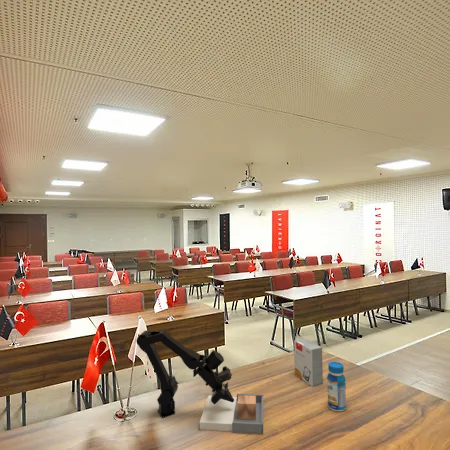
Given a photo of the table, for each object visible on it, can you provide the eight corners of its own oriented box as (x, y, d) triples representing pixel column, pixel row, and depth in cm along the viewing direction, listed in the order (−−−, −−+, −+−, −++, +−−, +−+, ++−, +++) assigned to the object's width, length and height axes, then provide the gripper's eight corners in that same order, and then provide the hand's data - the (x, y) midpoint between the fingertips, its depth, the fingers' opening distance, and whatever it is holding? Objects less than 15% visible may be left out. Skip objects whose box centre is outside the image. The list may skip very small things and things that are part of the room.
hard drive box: (294, 375, 185) (293, 340, 185) (304, 372, 188) (304, 338, 188) (312, 387, 171) (311, 349, 171) (323, 383, 174) (322, 346, 174)
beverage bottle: (348, 413, 146) (346, 368, 147) (328, 411, 148) (327, 367, 148) (344, 402, 155) (343, 361, 155) (326, 401, 156) (325, 360, 156)
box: (232, 432, 135) (232, 422, 135) (237, 401, 158) (237, 393, 158) (263, 434, 133) (263, 424, 133) (263, 402, 156) (263, 394, 156)
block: (237, 403, 143) (255, 404, 142) (238, 395, 150) (255, 395, 149) (237, 419, 143) (255, 419, 142) (238, 410, 150) (256, 410, 149)
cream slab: (199, 429, 137) (199, 422, 137) (208, 401, 159) (208, 395, 159) (232, 431, 135) (232, 424, 135) (237, 402, 157) (236, 396, 157)
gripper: (217, 373, 138) (244, 400, 136) (223, 355, 156) (246, 379, 155) (200, 391, 139) (226, 418, 137) (207, 371, 157) (231, 395, 156)
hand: (233, 401), depth 146 cm, fingers closed
